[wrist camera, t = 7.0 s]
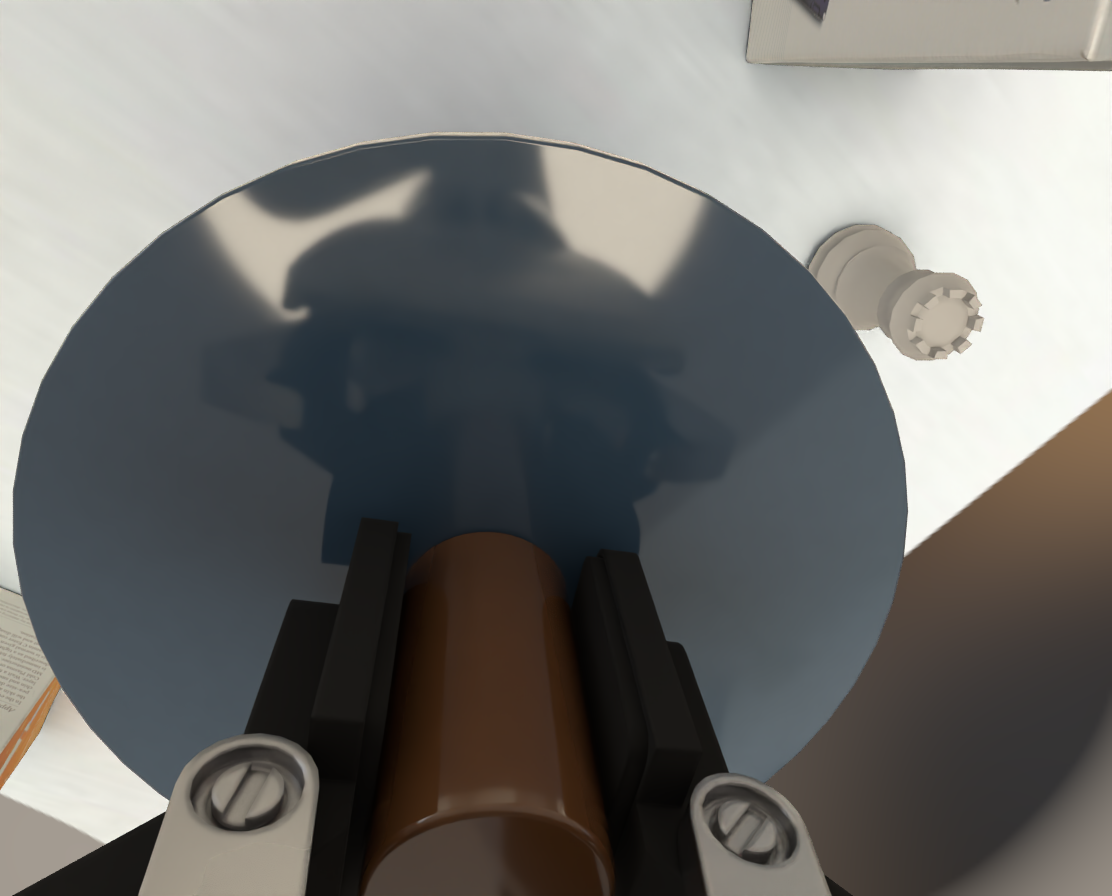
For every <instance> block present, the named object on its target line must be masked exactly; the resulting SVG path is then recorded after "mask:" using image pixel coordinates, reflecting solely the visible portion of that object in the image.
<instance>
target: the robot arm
mask: <svg viewBox="0 0 1112 896" xmlns="http://www.w3.org/2000/svg"><path fill="white" fill-rule="evenodd" d="M398 524H399V522H395V521H387V520H380V519H372V518H364V517H362V518H361V522H360V525H359V529H358V533H357V537H356V541H355V545H354V549H353V553H352V557H351V561H350V565H349V569H348V573H347V576H346V580H345V584H344V588H343V592H342V596H341V600H340V604H332V603H323V602H314V601H305V600H296V599H292V600H291V601H290V603H289V606H288V608H287V611H286V614H285V617H284V619H283V622H282V625H281V628H280V631H279V634H278V637H277V640H276V642H275V645H274V648H273V651H272V654H271V657H270V660H269V662H268V665H267V668H266V671H265V674H264V677H263V680H262V682H261V685H260V688H259V691H258V694H257V697H256V700H255V702H254V705H253V708H252V711H251V714H250V717H249V720H248V723H247V725H246V728H245V731H244V734H243V735H238V736H234V737H231V738H228V739H224V740H221V741H218V742H216V743H215V744H213V745H211V746H209V747H208V748H206V749H204V750H202V751H201V752H199V753H198V754H197V755H196V756H195V757H194V758H193V759H192V760H191V761H190V762H189V763H188V764H187V765H186V766H185V767H184V769H183V771H182V772H181V774H180V776H179V778H178V780H177V782H176V783H175V786H174V789H173V792H172V795H171V798H170V801H169V804H168V807H167V810H166V812H164V813H162V814H160V815H159V816H157V817H155V818H153V819H151V820H149V821H148V822H146V823H144V824H142V825H140V826H138V827H137V828H135V829H133V830H131V831H129V832H128V833H126V834H124V835H122V836H120V837H118V838H117V839H115V840H113V841H111V842H109V843H108V844H106V845H104V846H102V847H100V848H99V849H97V850H95V851H93V852H91V853H89V854H87V855H86V856H84V857H82V858H80V859H78V860H77V861H75V862H73V863H71V864H69V865H68V866H66V867H64V868H62V869H60V870H59V871H56V872H55V873H53V874H51V875H49V876H47V877H46V878H44V879H42V880H40V881H38V882H37V883H35V884H33V885H31V886H29V887H27V888H25V889H24V890H22V891H20V892H18V893H16V894H15V895H13V896H358V886H359V879H360V872H361V865H362V858H363V851H364V844H365V837H366V830H367V826H368V822H369V818H370V816H371V812H372V806H373V799H374V793H375V786H376V780H377V774H378V767H379V761H380V755H381V748H382V742H383V735H384V729H385V722H386V715H387V708H388V701H389V694H390V687H391V679H392V672H393V665H394V658H395V651H396V643H397V636H398V629H399V622H400V615H401V607H402V600H403V593H404V586H405V578H406V571H407V564H408V557H409V550H410V542H411V535H412V533H404V532H397V531H398ZM571 615H572V621H573V627H574V633H575V638H576V644H577V650H578V656H579V661H580V667H581V673H582V679H583V684H584V690H585V696H586V702H587V707H588V713H589V719H590V725H591V730H592V736H593V742H594V748H595V753H596V759H597V765H598V771H599V776H600V782H601V788H602V794H603V799H604V805H605V811H606V817H607V822H608V828H609V834H610V840H611V845H612V851H613V857H614V863H615V869H616V877H617V880H616V890H615V894H614V896H852V895H851V894H850V893H848V892H847V891H846V890H844V889H843V888H842V887H840V886H839V885H838V884H836V883H835V882H833V881H832V880H831V879H829V878H828V877H827V876H825V875H824V874H823V871H822V869H821V865H820V863H819V860H818V857H817V855H816V852H815V849H814V847H813V844H812V841H811V838H810V836H809V833H808V830H807V828H806V826H805V824H804V822H803V820H802V818H801V817H800V815H799V813H798V812H797V811H796V809H795V808H794V807H793V806H792V805H791V804H790V802H789V801H788V800H787V799H786V798H785V797H784V796H782V795H781V794H780V793H778V792H777V791H776V790H774V789H773V788H772V787H771V786H769V785H767V784H765V783H763V782H761V781H759V780H757V779H755V778H752V777H749V776H745V775H741V774H737V773H729V771H728V768H727V765H726V762H725V759H724V757H723V754H722V751H721V748H720V745H719V743H718V740H717V737H716V734H715V731H714V729H713V726H712V723H711V720H710V717H709V715H708V712H707V709H706V706H705V703H704V701H703V698H702V695H701V692H700V689H699V687H698V684H697V681H696V678H695V675H694V673H693V670H692V667H691V664H690V661H689V659H688V656H687V653H686V651H685V649H684V647H683V645H681V644H680V643H679V642H671V641H666V638H665V635H664V632H663V629H662V626H661V623H660V620H659V617H658V614H657V611H656V608H655V605H654V602H653V599H652V596H651V593H650V590H649V587H648V584H647V581H646V578H645V575H644V572H643V569H642V565H641V562H640V559H639V557H638V555H637V554H636V553H632V552H624V551H617V550H609V549H600V550H599V552H598V554H597V557H591V556H587V557H586V558H585V560H584V563H583V566H582V570H581V574H580V578H579V582H578V585H577V589H576V593H575V597H574V600H573V604H572V608H571Z"/></svg>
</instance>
